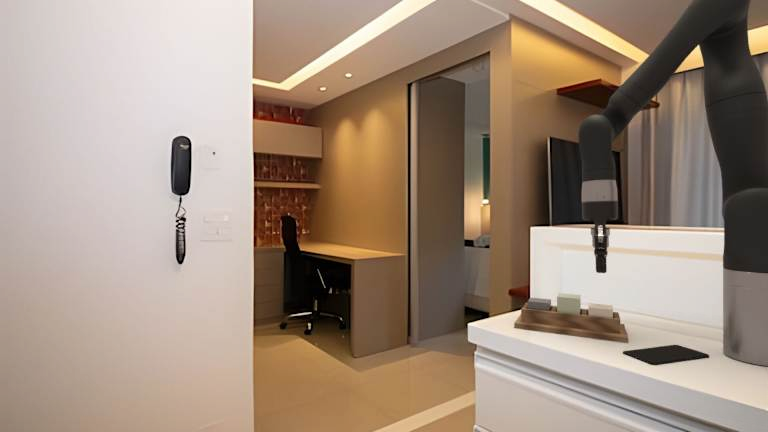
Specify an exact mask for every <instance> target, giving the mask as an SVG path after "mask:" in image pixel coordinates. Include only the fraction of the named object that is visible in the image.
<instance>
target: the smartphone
mask: <svg viewBox="0 0 768 432" xmlns="http://www.w3.org/2000/svg"><path fill="white" fill-rule="evenodd" d="M622 354H623V355H624V356H627V357H630V358H632V359H636V360H638V361H641V362H643V363H646V364H648V365H650V366H662V365H668V364H675V363H680V362H688V361H690V362H691V361H695V360H703V359H709V358H710V355H709V353H705V352H702V351H700V350H696V349H692V348H689V347H686V346H682V345H679V344H670V345H668V344H667V345H663V346H661V345H660V346H653V347H645V348H638V349H637V348H636V349H630V350H624V351H622Z"/></svg>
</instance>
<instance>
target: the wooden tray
mask: <svg viewBox="0 0 768 432" xmlns="http://www.w3.org/2000/svg"><path fill="white" fill-rule="evenodd" d="M513 325H514V327H513V328H515V329H519V330H520V329H521V330H528V331H535V332H541V333H542V332H544V333H552V334H559V335H563V336H564V335H565V336H574V337H580V338H588V339H595V340H604V341H611V342H619V343H625V344H628V343H629V337H628V333H627V329H626V327H625V326H626V325H625V323H621V316H620V313H619V311H617V312H616V311H613V318H607V317H598V316H589V315H588V308H581V314H571V313H561V312H557V305H551V311H543V310H534V309H528V302H525V304H524V305H523V306H521V309H520V315H519V316H518V317H517V319H516V320H515V322H514V323H513Z"/></svg>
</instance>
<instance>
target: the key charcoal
mask: <svg viewBox="0 0 768 432" xmlns="http://www.w3.org/2000/svg"><path fill="white" fill-rule="evenodd" d="M527 303H528V309H534V310H543V311H551V306H552V299H549V298H537V297H529V298H528V300H527Z"/></svg>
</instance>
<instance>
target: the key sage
mask: <svg viewBox="0 0 768 432" xmlns="http://www.w3.org/2000/svg"><path fill="white" fill-rule="evenodd" d="M556 306H557V312H561V313H571V314H581V309H582V308H581V307H582V305H581V294H573V293H561V292H559V293H558V294H557V296H556Z"/></svg>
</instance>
